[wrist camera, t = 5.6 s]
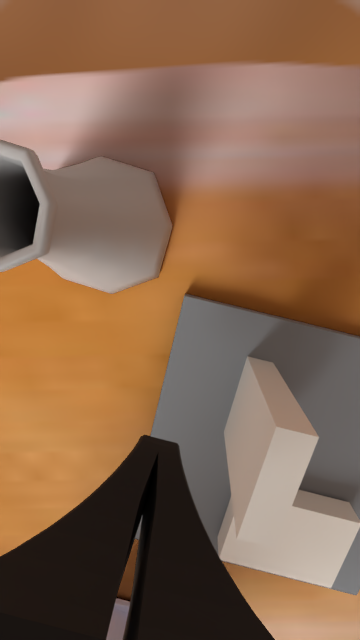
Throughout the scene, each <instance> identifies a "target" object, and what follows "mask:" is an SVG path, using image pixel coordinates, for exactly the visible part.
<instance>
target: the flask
mask: <svg viewBox="0 0 360 640" xmlns="http://www.w3.org/2000/svg"><path fill="white" fill-rule="evenodd" d="M172 227H173V226H172V223H171V220H170V217H169V214H168V211H167V209H166V206H165V203H164V200H163V197H162V194H161V192H160V189H159V186H158V183H157V180H156V177H155V174H154V172H150V171H147V170H144V169H141V168H138V167H135V166H131V165H128V164H125V163H122V162H119V161H116V160H112V159H109V158H106V157H103V156H99V157H96V158H93V159H90V160H88V161H85V162H82V163H80V164H76V165H72V166H68V167H64V168H60V169H56V170H47V169H43V168H42V166H41V163H40V161H39V158H38V156H37V155H36V153H35V152H34V151H33V150H31V149H28V148H25V147H22V146H19V145H16V144H13V143H9V142H6V141H3V140H0V272H4V271H6V270H9V269H12V268H14V267H17V266H19V265H22V264H24V263H27V262H29V261H32V260H34V259H38V260H40V261H41V262H43V263H44V264H46V265H47V266H49V267H50V268H51V269H52V270H54V271H55V272H56V273H57V274H58V275H59V276H61V277H62V278H64V279H66V280H69V281H72V282H75V283H78V284H82V285H85V286H88V287H91V288H94V289H98V290H101V291H104V292H107V293H110V294H113V293H116V292H119V291H122V290H124V289H127V288H130V287H133V286H135V285H138V284H141V283H144V282H147V281H149V280H152V279H155V278H158V276H159V273H160V269H161V266H162V262H163V259H164V255H165V252H166V248H167V245H168V241H169V238H170V234H171V231H172Z"/></svg>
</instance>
